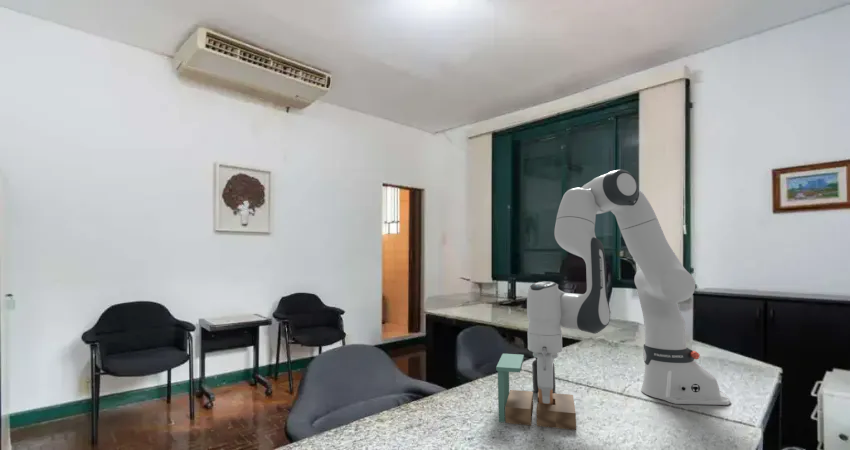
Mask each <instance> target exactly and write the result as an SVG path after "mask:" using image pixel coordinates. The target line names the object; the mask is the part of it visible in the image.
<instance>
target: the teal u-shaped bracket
mask: <svg viewBox="0 0 850 450" xmlns="http://www.w3.org/2000/svg"><path fill="white" fill-rule="evenodd" d="M524 359H525V355H524V354H519V353H517V354H516V353H515V354H514V353H502V354H501V356H500V358H499V361H498V362H497V365H496V367H495V368H496V369H495V371H496V372H497V401H498V404H497V405H498V423H506V418H505V406H506V403H507V399H508V396H509V393H510V373H521V372H522V371H521V370H522V367H523V363H524Z"/></svg>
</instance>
